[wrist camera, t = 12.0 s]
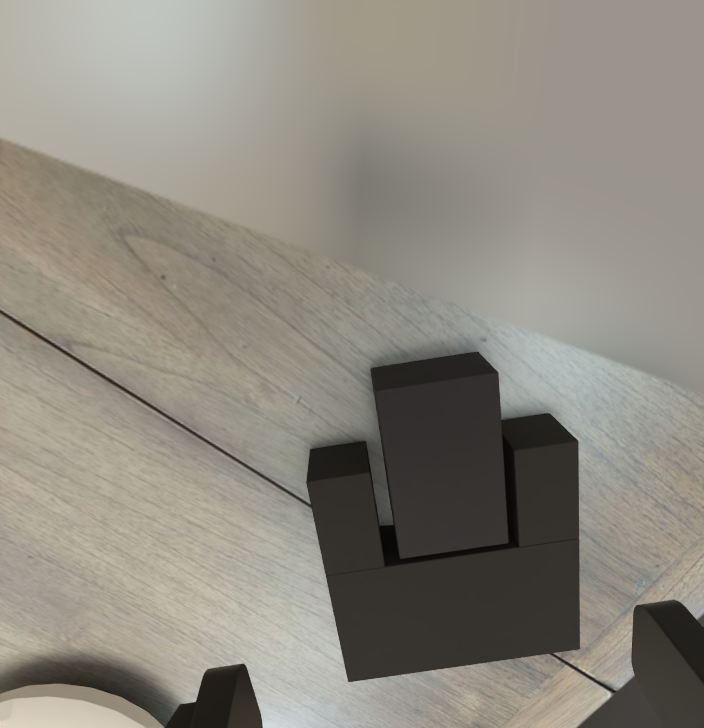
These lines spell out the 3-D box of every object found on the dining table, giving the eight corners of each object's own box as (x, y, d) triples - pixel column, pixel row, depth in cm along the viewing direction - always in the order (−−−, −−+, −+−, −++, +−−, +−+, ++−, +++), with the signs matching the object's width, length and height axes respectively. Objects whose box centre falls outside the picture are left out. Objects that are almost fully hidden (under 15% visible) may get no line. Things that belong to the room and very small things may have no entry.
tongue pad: (370, 367, 27) (374, 390, 23) (478, 351, 26) (498, 371, 23) (392, 520, 30) (399, 559, 26) (489, 505, 30) (509, 543, 26)
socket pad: (309, 449, 28) (306, 481, 25) (549, 412, 28) (578, 440, 24) (347, 633, 32) (348, 682, 29) (555, 603, 32) (580, 649, 29)
